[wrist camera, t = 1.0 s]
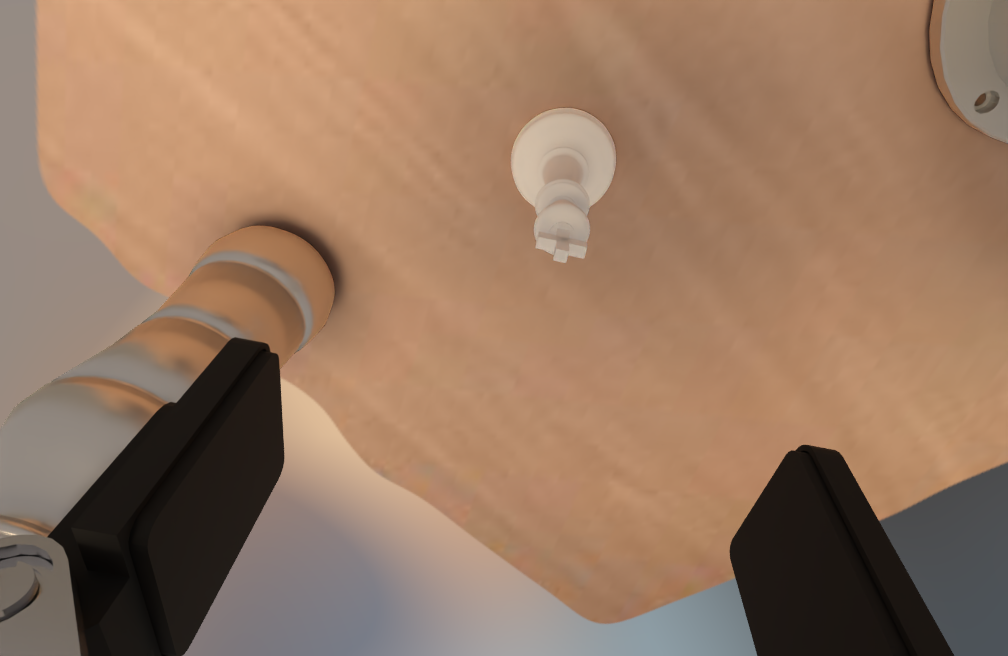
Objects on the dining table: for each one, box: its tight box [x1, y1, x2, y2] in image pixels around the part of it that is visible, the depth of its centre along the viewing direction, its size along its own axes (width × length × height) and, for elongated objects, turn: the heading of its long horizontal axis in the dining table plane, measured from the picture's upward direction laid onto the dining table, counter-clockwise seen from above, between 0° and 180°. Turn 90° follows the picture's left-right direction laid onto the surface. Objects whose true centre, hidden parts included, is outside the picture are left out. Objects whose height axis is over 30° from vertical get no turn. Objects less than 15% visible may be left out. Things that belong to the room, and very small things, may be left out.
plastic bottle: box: [0, 226, 335, 538], centre depth 24 cm, size 6×7×20 cm
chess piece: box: [511, 108, 616, 263], centre depth 23 cm, size 5×5×10 cm
